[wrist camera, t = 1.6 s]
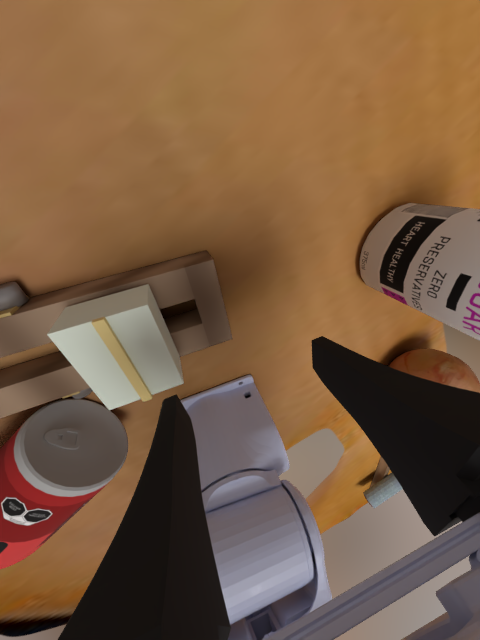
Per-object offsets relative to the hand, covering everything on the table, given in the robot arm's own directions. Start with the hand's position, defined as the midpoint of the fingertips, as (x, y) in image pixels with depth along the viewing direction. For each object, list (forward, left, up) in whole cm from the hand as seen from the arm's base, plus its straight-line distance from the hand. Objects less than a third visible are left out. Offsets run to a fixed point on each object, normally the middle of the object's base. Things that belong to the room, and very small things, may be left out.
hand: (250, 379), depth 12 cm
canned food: (+22, +13, -6) cm, 26 cm away
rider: (+6, 0, -10) cm, 12 cm away
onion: (-25, +20, -10) cm, 33 cm away
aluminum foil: (-34, +59, -8) cm, 68 cm away
